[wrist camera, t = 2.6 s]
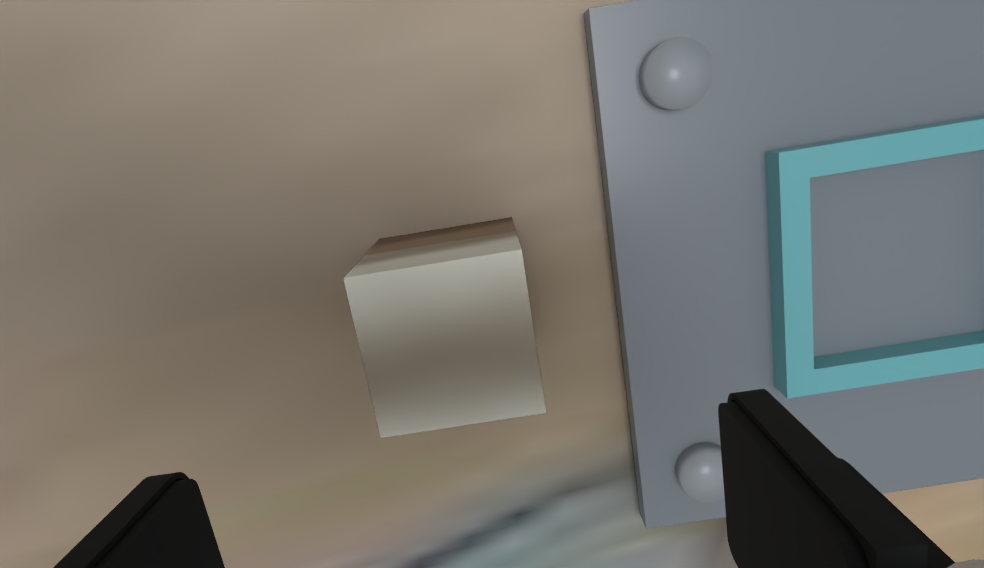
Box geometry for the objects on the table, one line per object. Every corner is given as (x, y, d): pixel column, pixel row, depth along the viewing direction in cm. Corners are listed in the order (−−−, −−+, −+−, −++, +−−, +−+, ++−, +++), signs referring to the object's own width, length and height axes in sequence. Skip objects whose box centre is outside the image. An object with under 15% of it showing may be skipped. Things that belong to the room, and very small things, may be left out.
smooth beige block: (379, 238, 22) (343, 278, 16) (511, 217, 22) (521, 249, 16) (405, 361, 23) (380, 437, 18) (530, 341, 23) (546, 412, 18)
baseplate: (583, 14, 20) (594, 2, 18) (1178, -89, 20) (1254, -112, 18) (639, 513, 25) (653, 545, 23) (1112, 441, 25) (1166, 468, 23)
